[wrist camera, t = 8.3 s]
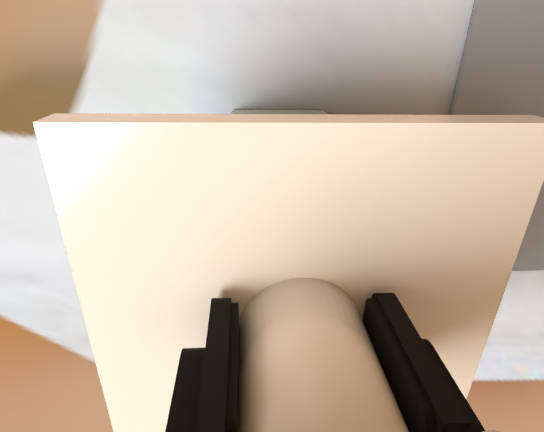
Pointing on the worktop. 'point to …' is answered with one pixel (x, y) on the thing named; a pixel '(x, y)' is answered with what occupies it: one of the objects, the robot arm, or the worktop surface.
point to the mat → (506, 84)
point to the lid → (287, 249)
